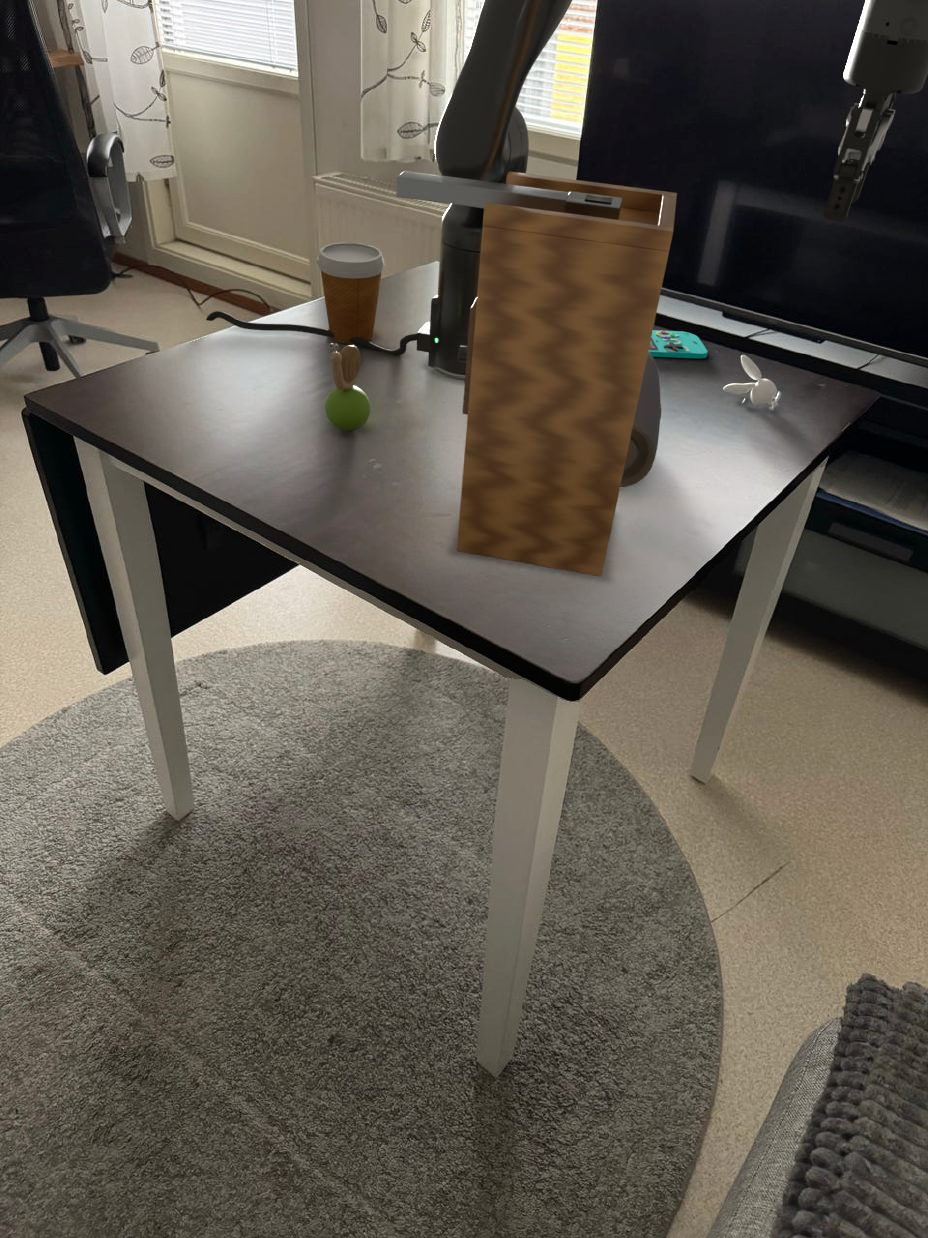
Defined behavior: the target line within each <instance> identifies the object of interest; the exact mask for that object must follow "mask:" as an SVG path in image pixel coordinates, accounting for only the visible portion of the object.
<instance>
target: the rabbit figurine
mask: <svg viewBox="0 0 928 1238" xmlns="http://www.w3.org/2000/svg"><path fill="white" fill-rule="evenodd" d="M740 363H741V366H742V369H743V370H744V372H745V373H746V374H747V376H749V378H751V379H753V381H754V380H755V381H756V382H748V383H729V384H726V385H725V386H724V387H723V391H724V392H725V393H727V394H732V395H741V394H746V393H748V392H750V401H751V403H752V404H753V406H755V407H760V406H762V405H766V404H768V405H771V406H769V407H768V409H769V410H770V411H772V412H774V411H775V407H778V406H779V403H778V402H779V401H780V399H781V397H782V392H781V391H780V390H778V388H777V386H776V384H775V383H774V382H773V381H772V380H770V379H768V378H762V372H761V370H760V369H759V367H758V366H757V364H756V363H754V361H753V360H752V359H751V358H750V357H748V356H747V355H745V354H742V355H741V356H740ZM745 401H746V398H744V399H743V400H742V401H741V405H742V404H743V403H745Z"/></svg>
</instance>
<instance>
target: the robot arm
mask: <svg viewBox="0 0 928 1238" xmlns="http://www.w3.org/2000/svg"><path fill="white" fill-rule="evenodd" d="M572 3H573V0H483V2H482V5H481V9H480V12H479V15H478V19H477V23H476V25H475V29H474V33H473V36H472V39H471V43H470V45H469V49H468V51H467V55H466V57H465V60H464V63H463V64H462V68H461V70H460V72H459V74H458V77H457V80H456V82H455V85H454V87H453V89H452V92H451V94H450V96H449V99H448V101H447V104H446V106H445V109H444V111H443V114H442V116H441V119H440V121H439V124H438V127H437V130H436V135H435V140H434V154H435V155H434V156H435V161H436V162H435V163H436V165H437V169H438V171H439V173H440V175H441V176H448V177H456V178H464V179H471V180H479V181H487V182H494V183H502V184H506V180H507V174H508V173H509V171H510V172H518V173H526V174H527V170H528V162H529V150H530V148H529V147H530V141H529V131H528V126H527V123H526V120H525V117H524V116H523V114H522V112H521V111H520V109H518V107H517V103H518V101H519V97H520V94H521V92H522V89H523V86H524V84H525V82H526V79H527V77H528V76H529V73H530V71H531V70H532V68H533V66H534V64H535V63H536V61H537V59H538V58H539V56H540V54H541V53H542V52H543V50H544V49H545V47H546V46H547V44H548V42H549V41H550V39H551V38H552V36H553V35H554V33H555V32H556V30H557V28H558V27H559V25H560V23H561V21H562V20H563V18H564V17H565V15H566V14H567V12H568V10H569V8H570V6H571V4H572ZM845 64H846V65H845V68H844V71H843V80H844V81H845V82H846V83H847V84H849V85H851V86H855V87H860V88H861V89H863V94H862V97H861V99H860V103H857V102H855V103H854V105H853V106H851V107H850V110H849V112H848V115H847V117H846V124H845V127H846V128H845V130H844V132H843V135H842V139H841V141H840V142H839V147H838V154H837V155H838V157H837V159H836V162H835V164H834V166H833V168H832V171H833V173H832V175H833V179H834V180H833V183H832V186H831V189H830V192H829V196H828V199H827V203H826V205H825V208H824V211H823V217H824V218H825V219H826V220H830V221H834V222H844V221H845V220H846V218H847V217H848V214H849V211H850V208H851V204H854V203H856V202H857V201H858V199H859V197H860V194H861V191H862V188H863V186H864V182H865V180H866V177H867V173H868V171H869V167H870V166H871V165H872V163H873V162H874V161H875V158H876V153H878V152H879V151H880V150H881V148H882V145H883V144H884V141H885V137H886V134H887V131H888V130H889V129H890V127H891V125H892V122H893V120H894V116H895V113H896V110H895V109H892V107H893V104H894V103H895V102H896V99H897V96H896V95H897V94H902V95H905V94H907V95H908V94H909V95H910V94H915V93H919V92H920V91H921V90H923V88H924V85H925V82H926V79H927V77H928V0H865V2H864V5H863V9H862V12H861V15H860V19H859V23H858V25H857V28H856V32H855V36H854V38H853V42H852V45H851V48H850V52H849V54H848V58H847V61H846V63H845ZM846 161H847V162H846ZM483 217H484V208H476V207H469V206H462V205H454V204H449V207H448V208H447V209H446V211H445V212H444V214H443V216H442V218H441V224H440V240H439V241H440V244H439V262H438V263H439V264H438V283H437V295H435V296H434V297H432V298H431V301H430V315H429V316H430V317H429V321H425V323H424V324H423V326H421V327H420V329H419V330H418V331H417V333H410V334H407V335H404V336H403V337H402V338H401V339H400V341H399V348H397V349H387V348H384V347H381V346H379V345H378V344H375V343H373V342H371V341H370V340H369V341H367V340H365V339H362V338H360V337H354V338H351V339H350V341H351V342H353V343H356V344H355V345H358V346H361V347H364V348H366V349H368V350H371V351H375V352H378V353H382V354H386V355H390V356H395V357H398V356H399V357H400V356H403V355H404V354H406V352H407V344H408V343H410V342H414V341H415V342H416V351H417V352H424V353H428V357H427V358H428V359H427V366H428V367H430V368H433V369H435V371H436V372H437V373H439V374H440V375H442V376H445V377H446V378H450V379H454V380H458V381H459V380H460V381H465V373H466V362H461V361H459V360H458V353H459V348H460V346H468V334H469V321H470V308H471V307H472V305H473V303H474V301H475V300H476V298H477V292H478V280H479V268H480V255H481V243H482V230H483ZM216 319H222V320H224V321H226V322H228V323H230V324H231V325H233V326H235V327H237V328H241V329H244V330H250V331H251V330H252V331H265V332H267V331H271V332H272V331H273V332H275V331H277V332H280V331H281V332H282V331H283V332H298V333H305V334H313V335H319V336H323V337H328V338H331V339H332V338H334V334H333V333H332V332H331V331H330V330H329V329H327V328H323V327H316V326H311V325H303V324H294V323H263V322H262V323H260V322H250V321H243V320H240V319H238V318H236V317H234V316H232V315H231V314H229V313H228V312H225V311H223V310H215V311H212V312H211V313H209V314H208V315H207V317H206V318H205V320H206V321H208V322H213V321H214V320H216Z"/></svg>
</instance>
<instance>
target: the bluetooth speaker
mask: <svg viewBox="0 0 928 1238" xmlns="http://www.w3.org/2000/svg"><path fill="white" fill-rule="evenodd" d="M660 384H661V383H660V373H659V370H658V365H657V363H656V361H655V357H653V356H652V355H651V354H650V352H649V351H648V356H647V360H646V365H645V370H644V375H643V380H642V385H641V389H640V394H639V399H638V404H637V409H636V413H635V418H634V423H633V428H632V433H631V438H630V442H629V447H628V452H627V457H626V462H625V466H624V471H623V476H622V481H621V486H620V489H621V488H627V487H632V486H634V485H636V484H638V483H639V482H641V481H642V480H644V478H645V477H646V476H647V475H648V474H649V473H650V471H651V470H652V467H653V465H654V462H655V460H656V456H657V451H658V444H659V436H660V428H661V427H660V426H661V419H662V402H661V385H660Z"/></svg>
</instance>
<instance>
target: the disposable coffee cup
mask: <svg viewBox="0 0 928 1238" xmlns="http://www.w3.org/2000/svg"><path fill="white" fill-rule="evenodd" d="M318 253H319V254H318V257H317V258H316V263H317V266H318V268H319V270H320V276H321V282H322V288H323V290H322V291H323V295H324V303H325V309H326V316H327V323H328V330H330V331H331V332H332V333H333V334H334V338H331V339H332V340H334V341H335V342H339V343H343V344H348V345H357V344H356V343H353V342H351V341H350V339H351V338H354V337H360V338H362V339H365V340H367V341H369V342H370V341H371V340H372V339H373V337H374V330H375V323H376V317H377V316H376V315H377V308H378V301H379V293H380V287H381V280H382V272H383V271H384V268H385V266H386V261H385V259H384V257H383V253H382V250H380V248H379V247H378V248H377V247H376V246H374V245H369V244H368V243H360V242H351V241H349V242H348V241H345V242H344V241H341V242H333V243H329V244H326V245H324V246H322V247H321V248H320V250H319V252H318Z"/></svg>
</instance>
